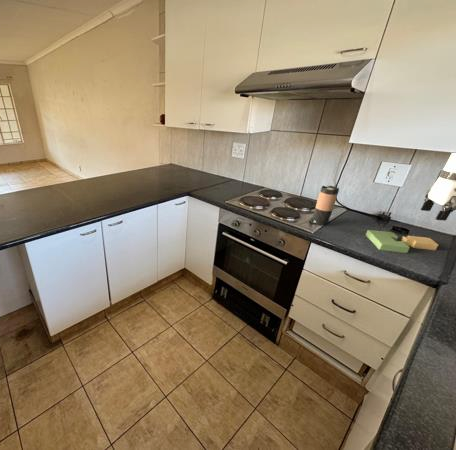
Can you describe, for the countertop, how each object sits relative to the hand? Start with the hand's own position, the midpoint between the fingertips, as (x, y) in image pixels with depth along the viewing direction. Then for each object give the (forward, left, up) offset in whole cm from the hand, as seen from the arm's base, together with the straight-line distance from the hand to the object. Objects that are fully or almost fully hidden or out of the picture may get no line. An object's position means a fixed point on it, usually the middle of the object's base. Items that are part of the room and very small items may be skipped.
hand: (432, 215), depth 105 cm
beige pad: (0, 0, -15) cm, 15 cm away
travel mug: (+36, -14, -15) cm, 41 cm away
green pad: (+13, +2, -15) cm, 20 cm away
